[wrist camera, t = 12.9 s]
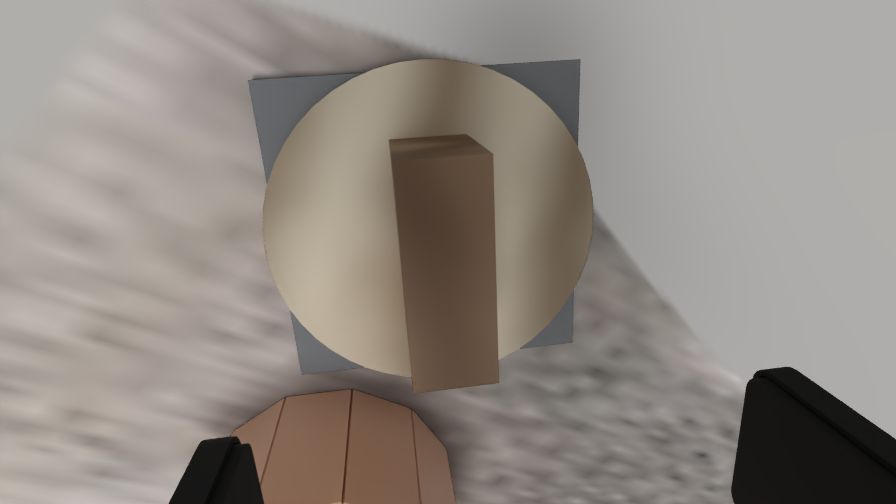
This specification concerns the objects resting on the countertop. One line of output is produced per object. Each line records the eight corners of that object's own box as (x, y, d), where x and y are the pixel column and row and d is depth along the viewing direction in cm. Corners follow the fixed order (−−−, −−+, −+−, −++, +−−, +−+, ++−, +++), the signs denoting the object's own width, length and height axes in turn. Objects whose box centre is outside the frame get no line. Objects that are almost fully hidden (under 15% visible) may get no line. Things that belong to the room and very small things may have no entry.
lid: (588, 50, 21) (671, 42, 15) (578, 346, 25) (637, 428, 19) (239, 70, 19) (178, 70, 13) (296, 379, 24) (270, 479, 18)
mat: (575, 59, 21) (580, 59, 21) (567, 336, 26) (572, 342, 25) (251, 80, 20) (247, 80, 19) (303, 367, 24) (301, 374, 24)
